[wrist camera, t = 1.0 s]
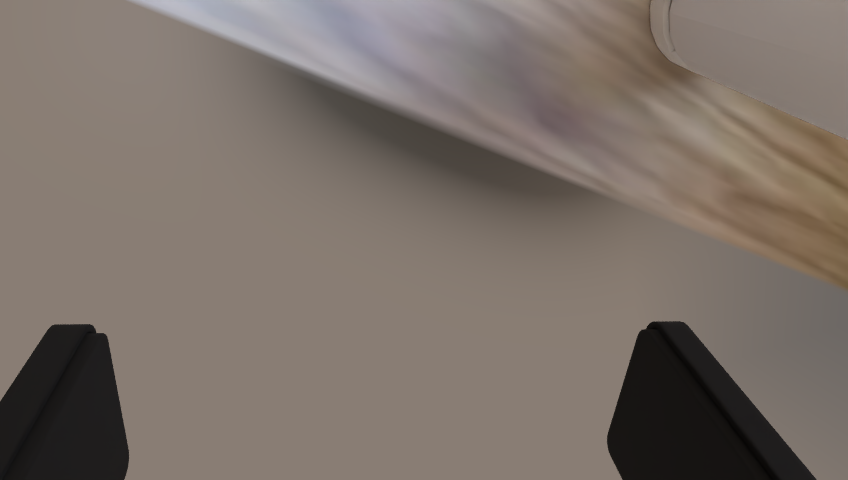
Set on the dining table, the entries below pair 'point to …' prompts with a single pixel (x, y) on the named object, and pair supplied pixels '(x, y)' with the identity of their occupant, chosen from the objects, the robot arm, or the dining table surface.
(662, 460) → the robot arm
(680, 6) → the bottle
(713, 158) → the dining table surface
